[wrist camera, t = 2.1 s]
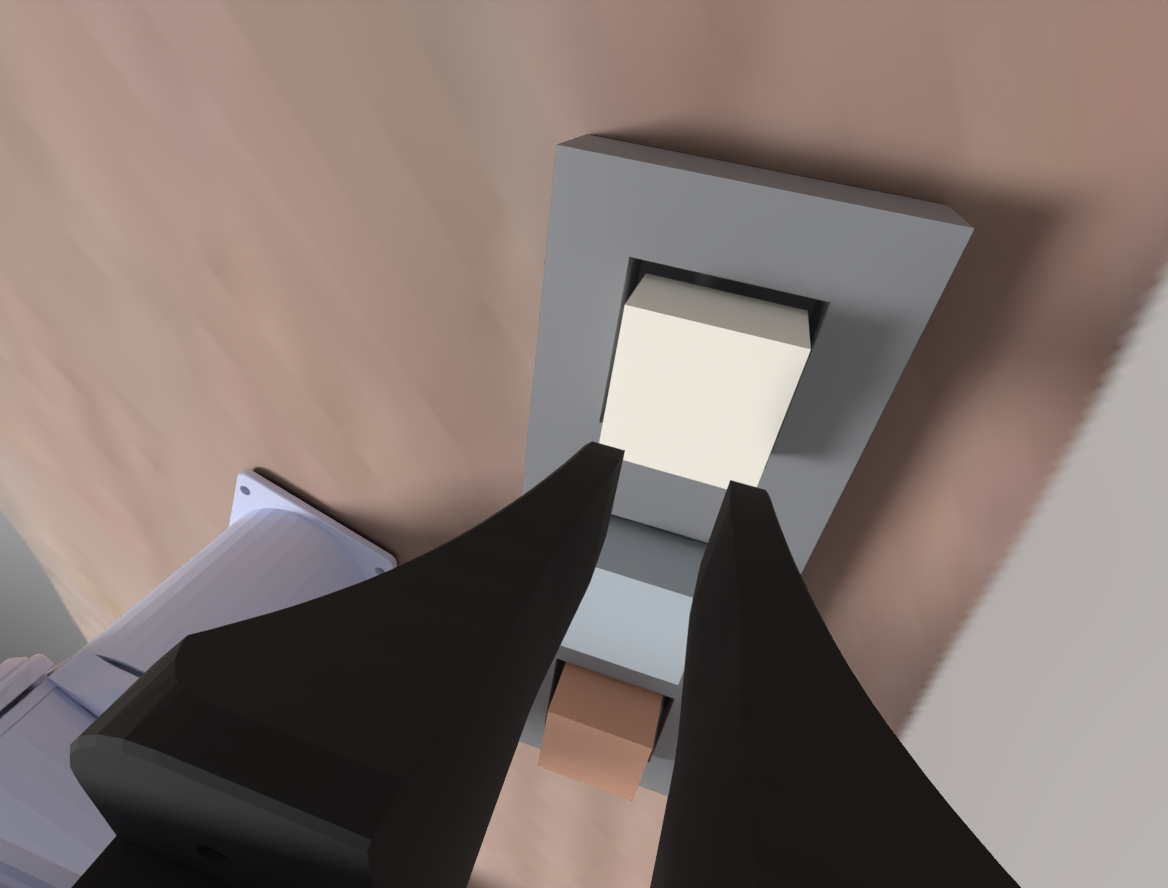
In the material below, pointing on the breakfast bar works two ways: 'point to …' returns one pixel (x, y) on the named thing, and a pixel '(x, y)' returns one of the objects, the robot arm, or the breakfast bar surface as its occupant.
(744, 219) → the key panel
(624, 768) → the terracotta key
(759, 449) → the cream key
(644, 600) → the slate key
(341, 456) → the breakfast bar surface
